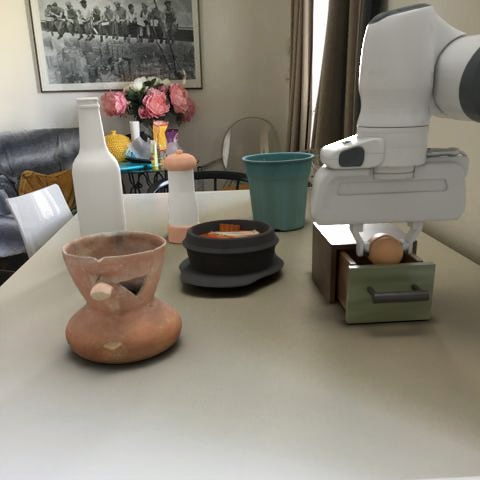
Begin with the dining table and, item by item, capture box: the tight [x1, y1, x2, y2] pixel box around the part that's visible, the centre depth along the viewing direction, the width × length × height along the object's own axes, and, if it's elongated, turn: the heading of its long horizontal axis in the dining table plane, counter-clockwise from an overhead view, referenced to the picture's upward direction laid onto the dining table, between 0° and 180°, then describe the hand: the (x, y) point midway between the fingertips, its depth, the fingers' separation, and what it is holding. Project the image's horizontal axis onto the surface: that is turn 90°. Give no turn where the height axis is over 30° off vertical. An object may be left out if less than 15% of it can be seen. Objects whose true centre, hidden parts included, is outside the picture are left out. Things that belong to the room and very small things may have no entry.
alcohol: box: [71, 96, 128, 237], centre depth 106 cm, size 9×9×30 cm
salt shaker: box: [162, 149, 201, 244], centre depth 122 cm, size 7×7×19 cm
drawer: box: [335, 249, 437, 324], centre depth 79 cm, size 18×11×8 cm, turn 4°
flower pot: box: [241, 151, 315, 232], centre depth 132 cm, size 16×16×16 cm
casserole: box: [178, 218, 285, 289], centre depth 99 cm, size 25×19×8 cm
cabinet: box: [311, 222, 418, 304], centre depth 90 cm, size 15×13×10 cm
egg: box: [367, 233, 403, 265], centre depth 77 cm, size 6×4×4 cm
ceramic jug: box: [61, 230, 183, 365], centre depth 71 cm, size 18×14×14 cm
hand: (383, 254), depth 77 cm, fingers closed on egg, 4 cm apart
